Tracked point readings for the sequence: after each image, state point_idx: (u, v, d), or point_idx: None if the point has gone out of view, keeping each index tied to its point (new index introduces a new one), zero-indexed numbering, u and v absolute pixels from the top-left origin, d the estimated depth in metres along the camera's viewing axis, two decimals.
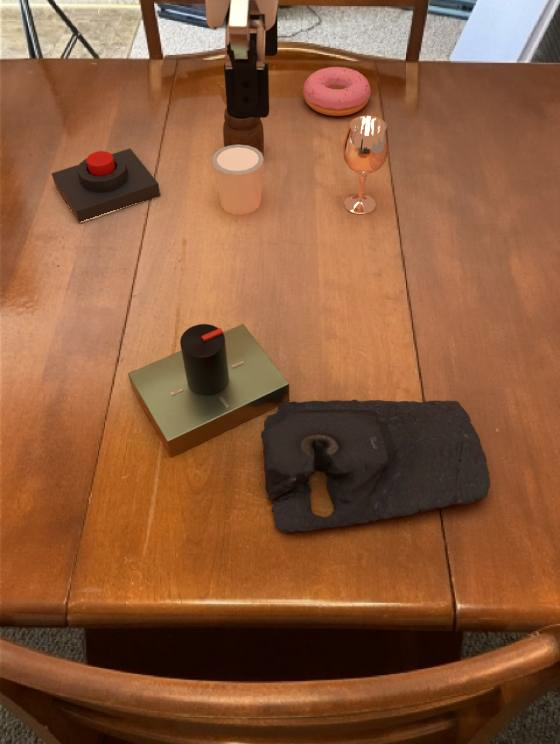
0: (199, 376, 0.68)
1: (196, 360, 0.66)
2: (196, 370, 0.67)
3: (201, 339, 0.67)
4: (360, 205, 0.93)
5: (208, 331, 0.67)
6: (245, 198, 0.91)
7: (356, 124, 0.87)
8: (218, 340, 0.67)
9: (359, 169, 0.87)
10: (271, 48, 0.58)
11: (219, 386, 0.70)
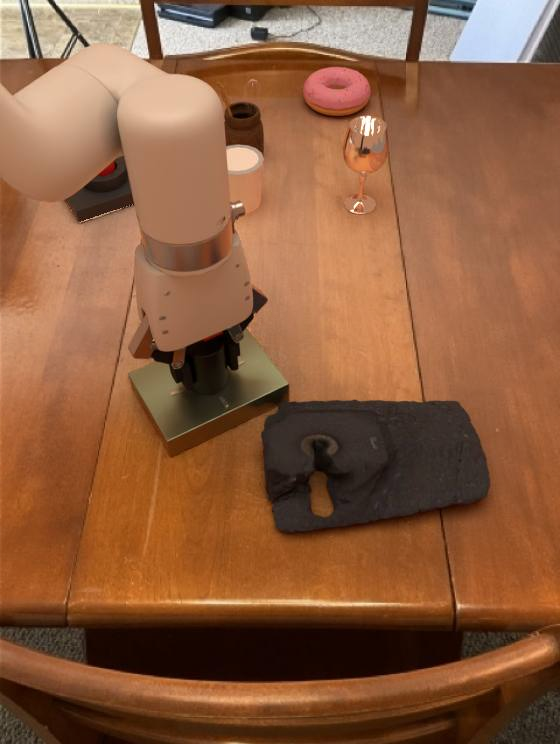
0: (199, 376, 0.68)
1: (196, 360, 0.66)
2: (196, 370, 0.67)
3: None
4: (360, 205, 0.93)
5: None
6: (245, 198, 0.91)
7: (356, 124, 0.87)
8: (218, 340, 0.67)
9: (359, 169, 0.87)
10: (230, 365, 0.70)
11: (219, 385, 0.70)
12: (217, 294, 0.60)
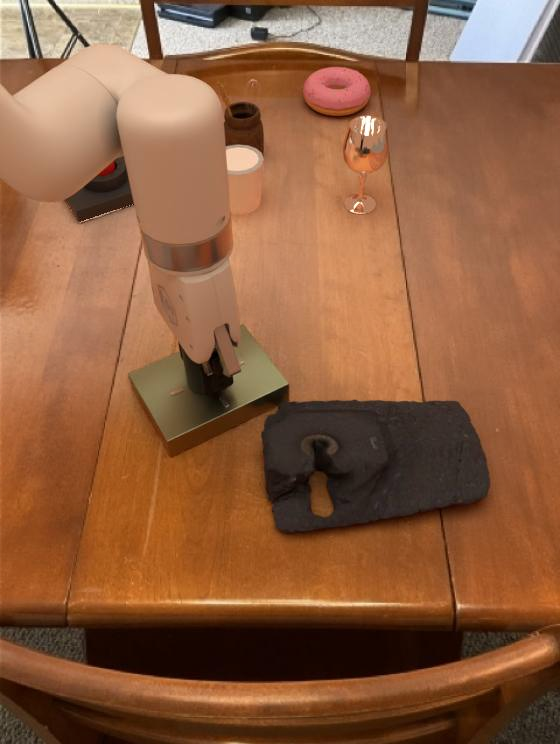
0: None
1: None
2: None
3: None
4: (360, 205, 0.93)
5: None
6: (245, 198, 0.91)
7: (356, 124, 0.87)
8: None
9: (359, 169, 0.87)
10: None
11: None
12: None
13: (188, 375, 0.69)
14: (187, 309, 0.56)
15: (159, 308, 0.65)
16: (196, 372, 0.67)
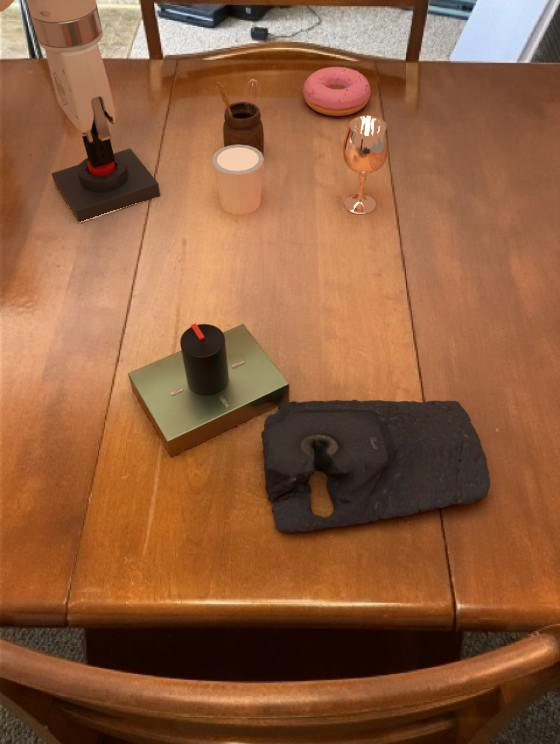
0: (225, 363, 0.69)
1: (224, 347, 0.67)
2: (224, 359, 0.68)
3: (201, 340, 0.67)
4: (360, 205, 0.93)
5: (191, 335, 0.67)
6: (245, 198, 0.91)
7: (356, 124, 0.87)
8: (204, 328, 0.68)
9: (359, 169, 0.87)
10: None
11: None
12: None
13: (188, 375, 0.69)
14: (68, 79, 0.79)
15: (59, 100, 0.87)
16: (195, 371, 0.67)
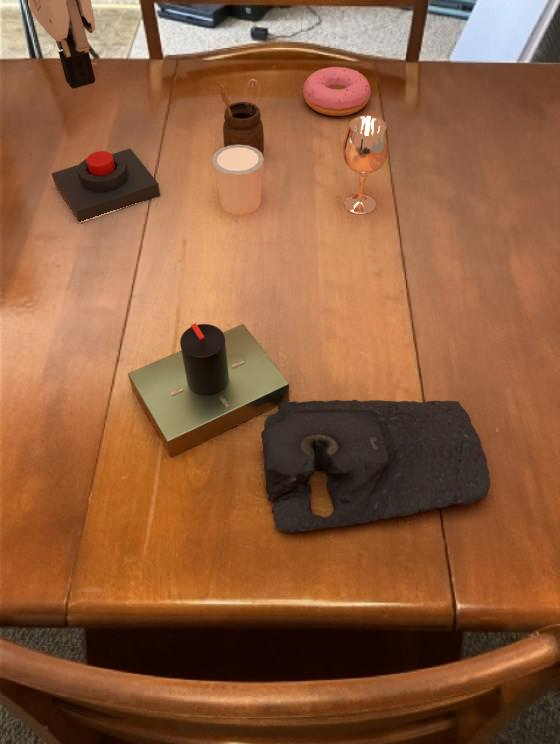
0: (225, 363, 0.69)
1: (224, 347, 0.67)
2: (224, 359, 0.68)
3: (201, 340, 0.67)
4: (360, 205, 0.93)
5: (191, 335, 0.67)
6: (245, 198, 0.91)
7: (356, 124, 0.87)
8: (204, 328, 0.68)
9: (359, 169, 0.87)
10: None
11: None
12: None
13: (188, 375, 0.69)
14: None
15: (32, 9, 0.78)
16: (195, 371, 0.67)
